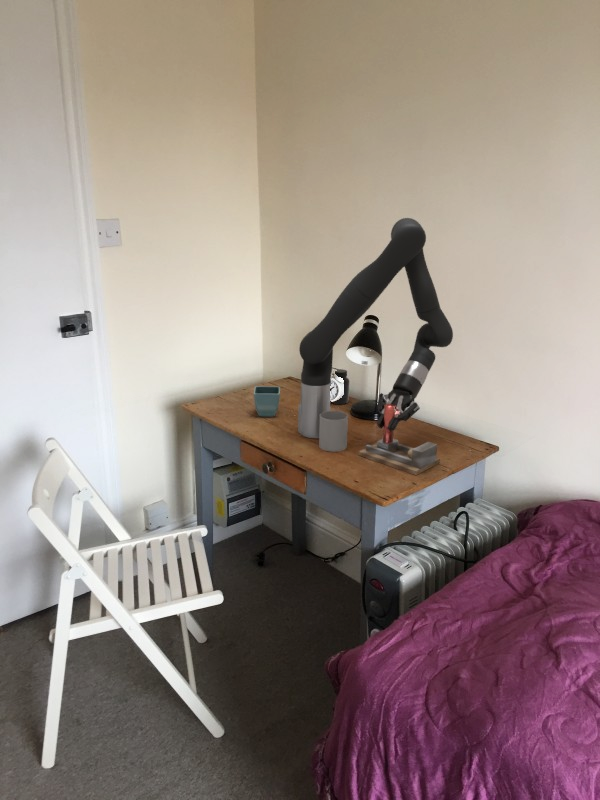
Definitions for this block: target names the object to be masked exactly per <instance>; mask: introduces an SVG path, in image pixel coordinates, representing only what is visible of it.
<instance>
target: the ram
mask: <svg viewBox="0 0 600 800" xmlns="http://www.w3.org/2000/svg"><path fill="white" fill-rule="evenodd" d="M395 413H396V409H395V405H394V404H385V406H384V425H383V428H382V438H383V439H382V438H380V439H381V440H380V439H379V440H377V441H376V444H377V448H380V449H383V450H386V451H389V452H394V451H396V450H398V443H399V439H395V438H394V431H395V430H393V431H392V432H391V431H389V430H388V425H389V424H390V422H391V420H392V418H393V417H394V415H395Z"/></svg>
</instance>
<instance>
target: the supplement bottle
mask: <svg viewBox="0 0 600 800" xmlns="http://www.w3.org/2000/svg"><path fill="white" fill-rule="evenodd" d="M335 370H337V371H335V374H336V375H337V376H338V377H341V378H343V380H344V395H343V396H342V398H340V399H339V400H337V401H335V402H334V403H335V404H334V405H337V404H344V405H346V404H345V403H347V404H348V403H349V398H350V379H349V378H348V370H346V369H343V368H342V369H341V368H340V369H339V368H337V369H335Z"/></svg>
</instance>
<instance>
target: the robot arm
mask: <svg viewBox="0 0 600 800" xmlns="http://www.w3.org/2000/svg"><path fill="white" fill-rule="evenodd" d="M426 234H427V233H426V232H425V230H424V228H423V227H422V225H421V223H420V222H419V221H417V220H416V219H414V218H412V217H411V218H410V217H403V218H401V219H399V220H397V221H396V222H395V223H394V224H393V225H392V229H391V232H390V239H391V240H389V242H388V244H387V245H386V247H384V249H383V251H382V252H381V253H380V255H378V256H377V258H375V260H374V261H372V262H371V263H370V264H369V265H367V266H366V267H364V268H363V269H361V271H359V272H358V273H357V274H356V275H355V276H354V277H353V278H352V279H351V280H350V282H349V283H348V284H347V285H346V286H345V288H344V289H343V290H342V291H341V293H340V294H339V295H338V297H337V298H336V299H335V301H334V303H332V305H331V307H330V309H329V310H328V312H327V313H326V314H325V316H324V318H322V320H320V321H319V323H318V324H317V325H316V326H315V327H314V328H313V329H312V330H311V331H309V332H308V333H307V334H306V335H305V336H304V337H303V338H302V339H301V341H300V343H299V349H298V350H299V354H300V357H301V359H302V360H303V361H302V362H303V364H302V369H301V373H300V403H298V405H297V406H298V407H297V409H298V411H297V416H298V417H297V421H298V422H297V423H298V425H297V428H298V429H297V430H298V431H297V432H298V433H300V435H301V436H302V437H305V438H308V439H309V438H310V439H319V424H320V414H321V413H323V412H326V411H331V402H330V386H331V379H332V372H333V358H334V354H333V353H334V346H335V345H336V344H337V342H338V341H339V340H340V338H341V337H342V335H344V333H346V331H347V330H349V329H350V328H351V327H352V326H354V324H355V323H356V322H357V321H358V320H360V318H361V317H363V315H364V314H365V313H366V312H367V311H368V310H369V309H370V308H371V307H372V306H373V304H374V303H375V302H376V301H377V300H378V298H379V297H380V296H381V294H382V293H383V292H384V291H385V290H386V289H387V287H388V286H389V285H390V283H391V282H392V281H393V279H394V278H395V277H396V276H397V275H398V273H399V272H400V271H401V270H403V268H404V269H405V274H406V276H407V281H408V284H409V289H410V293H411V298H412V301H413V305H414V309H415V311H416V315H417V317H418V319H420V320H421V321H423V322H426V323H424V324H423V325H421V326H420V327H419V329H418V330H417V333H416V339H415V342H414V346H413V350H412V353H411V355H410V356H409V358H408V360H407V362H406V363H405V364H404V366H403V367H402V369H401V371H400V372H399V374H398V376H397V378H396V380H395V381H394V383H393V385H392V389H391V390H390V391H389V392H388V393H387V394H383V393H379V395H378V402H377V411H378V412H379V414H380V416H379V417H378V419H377V420H376V421H377V422H376V426H377V427H378V428H379V429H382V430H383V425H384V406H385V404H394V405H395V415H394V417H393V418H392V420H391V422H390V424H389V425H388V430H389V431H391V432H392V431H393V430H394V431H395V430H396V428H397V426H398V424H399V423H400V422H401V421H403V422H407V421H408V420H409V419H410V418H411V417H413V416H414V415H415V413H417V412H418V411H419V410H420V405H419V404H418V403H417V402H415V399H416V398H417V397H418V395H419V393H420V391H421V389H422V388H423V385H424V384H425V381H426V379H427V377H428V374H429V372H430V371H431V369H432V367H433V364H434V363H435V360H436V354H435V352H434V351H433V350H432V349H431V347H435V348H436V347H437V348H446V347H448V346H449V345H451V344H452V341H453V339H454V331H453V328H452V326H451V323H450V322H449V320H448V319H447V317H446V315H445V313H444V311H443V309H441V306H440V302H439V298H438V294H437V290H436V288H435V284H434V282H433V279H432V277H431V275H430V272H429V271H430V270H429V268H428V265H427V262H426V258H425V254H424V247H425V244H426V243H427V242H426V241H427V240H426V239H427V235H426Z"/></svg>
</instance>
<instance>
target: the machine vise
mask: <svg viewBox="0 0 600 800" xmlns="http://www.w3.org/2000/svg"><path fill="white" fill-rule="evenodd" d="M381 439H383V437H382V438H379V440H381ZM437 450H438V444H437V443H434V442H430V441H426V442H425V443H422V444H420V445H419V446H416V447H411V446H408V445H404V444H402V443H399V442H398V450H396V451H394V452H389V451H386V450H383V449H380V448H377V443H374V444H372V445H371V444H366V445H365V448H363V449H361V450H358V456H359V457H362V458H363V457H364V458H366V459H368V460H371V461H374V462H377V463H380V464H383V465H385V466H389V467H392V468H395V469H397V470H399V471H402V472H405V473H409V474H412V475H414V476H417V475H419V474H421V473H423V472H425V471H426V470H429V469H430V468H432V467H434V466H436V465H437V464H438V465H439V463H440V461H441V458H438V457H437Z"/></svg>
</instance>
